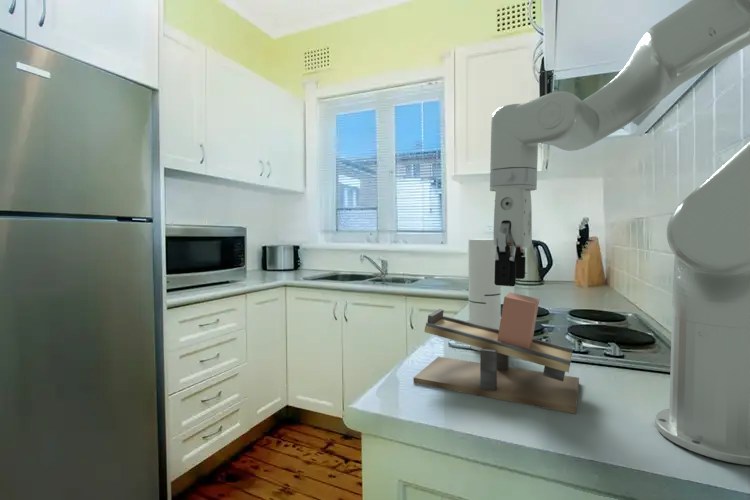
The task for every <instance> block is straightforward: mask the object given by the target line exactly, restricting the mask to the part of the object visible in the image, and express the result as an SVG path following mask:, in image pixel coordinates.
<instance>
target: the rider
mask: <svg viewBox="0 0 750 500" xmlns="http://www.w3.org/2000/svg"><path fill="white" fill-rule="evenodd" d="M502 303H503V305H502V309H501V310H502V311H501V321H500V327H499V333H498V339H497V341H500V342H504V343H508V344H511V345H515V346H519V347H523V348H526V349H529V347H530V346H531V344H532V340H533V339H534V333H535V328H536V321H537V315H538V311H539V306H540V305H539V304H540V298H538V297H533V296H529V295H523V294H519V293H515V292H514V293H513V292H509V293H507V294H506V295H504V298H503V301H502Z"/></svg>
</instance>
